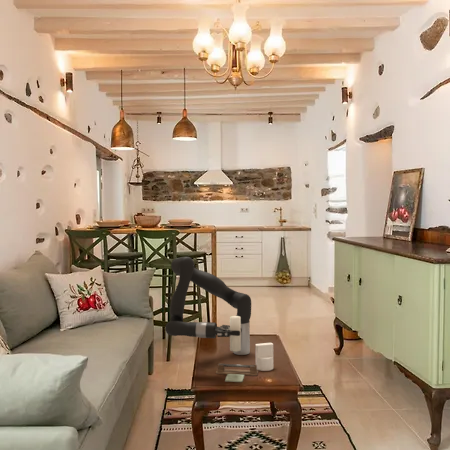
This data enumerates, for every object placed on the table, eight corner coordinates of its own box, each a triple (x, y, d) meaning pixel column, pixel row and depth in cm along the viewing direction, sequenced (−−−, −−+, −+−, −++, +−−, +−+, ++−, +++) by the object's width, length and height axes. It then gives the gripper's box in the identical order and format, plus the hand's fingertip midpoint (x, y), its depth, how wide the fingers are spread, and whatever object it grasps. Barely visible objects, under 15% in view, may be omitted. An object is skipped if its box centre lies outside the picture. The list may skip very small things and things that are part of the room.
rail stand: (217, 370, 229) (217, 362, 228) (258, 372, 225) (257, 364, 225) (216, 373, 224) (215, 365, 223) (257, 375, 220) (256, 367, 220)
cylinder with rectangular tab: (259, 371, 226) (258, 347, 226) (253, 365, 235) (252, 342, 234) (276, 369, 228) (276, 345, 228) (269, 364, 237) (269, 340, 237)
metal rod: (218, 365, 226) (218, 363, 226) (254, 367, 224) (254, 365, 223) (218, 366, 225) (218, 364, 225) (254, 368, 222) (254, 365, 222)
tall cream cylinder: (230, 348, 225) (230, 315, 225) (241, 348, 224) (241, 316, 224) (229, 351, 220) (228, 318, 220) (239, 351, 219) (239, 318, 219)
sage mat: (227, 375, 222) (227, 373, 222) (244, 375, 220) (244, 374, 220) (225, 381, 214) (225, 379, 214) (242, 382, 212) (242, 380, 212)
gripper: (203, 326, 217) (238, 327, 214) (209, 319, 232) (242, 320, 229) (203, 341, 218) (238, 343, 215) (209, 333, 232) (242, 335, 229)
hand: (240, 331), depth 222 cm, fingers closed on tall cream cylinder, 5 cm apart
